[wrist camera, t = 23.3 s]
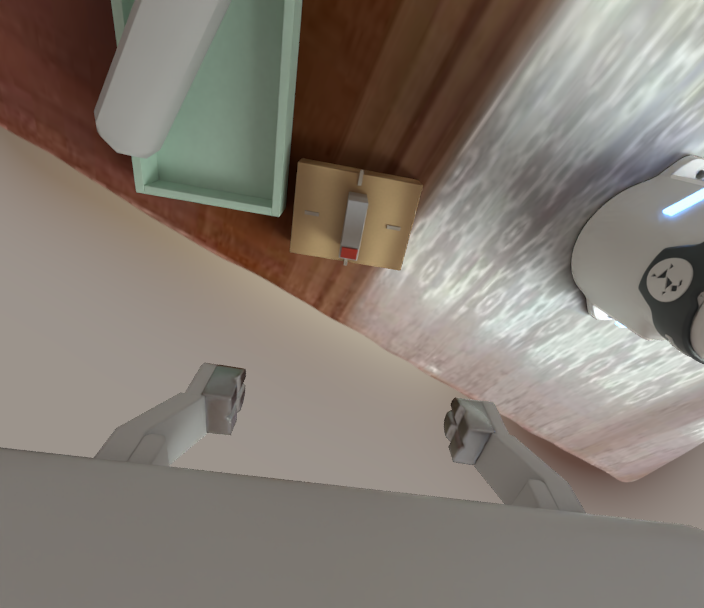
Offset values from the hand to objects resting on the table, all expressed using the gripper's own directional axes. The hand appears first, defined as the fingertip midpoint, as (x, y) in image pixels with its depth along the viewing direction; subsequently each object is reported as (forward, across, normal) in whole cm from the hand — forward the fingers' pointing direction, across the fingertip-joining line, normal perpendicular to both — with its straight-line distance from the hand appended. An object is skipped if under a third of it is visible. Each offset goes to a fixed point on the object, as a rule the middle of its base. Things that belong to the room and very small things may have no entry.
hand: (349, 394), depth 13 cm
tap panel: (+27, 0, 0) cm, 27 cm away
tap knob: (+24, 0, 0) cm, 24 cm away
